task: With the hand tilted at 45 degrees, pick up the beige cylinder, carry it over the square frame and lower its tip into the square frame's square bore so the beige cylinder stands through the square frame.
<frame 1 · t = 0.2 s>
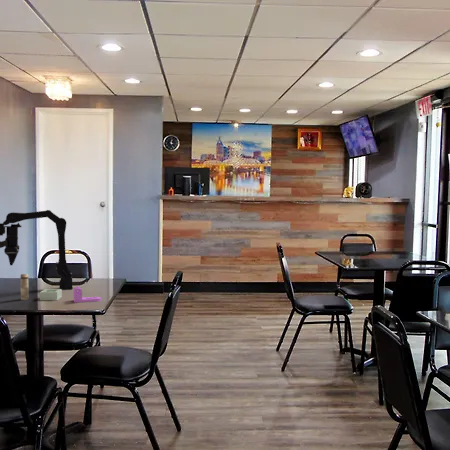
hand: (11, 264, 275), 15 cm above the table, tool pointing down, fingers open, 9 cm apart
square frame: (51, 298, 255), on the table
beige cylinder: (24, 299, 252), on the table
bracket: (87, 301, 251), on the table
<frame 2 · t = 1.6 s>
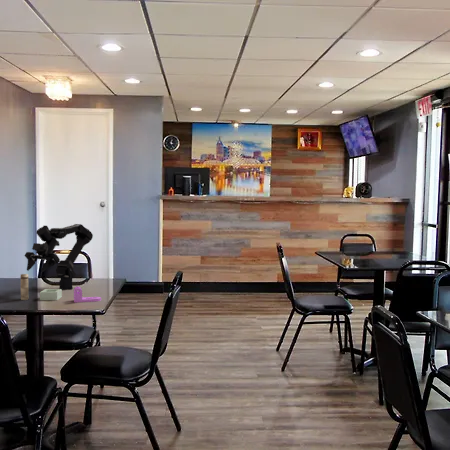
hand: (34, 270, 260), 13 cm above the table, tool tilted 45°, fingers open, 9 cm apart
nothing on the table moved.
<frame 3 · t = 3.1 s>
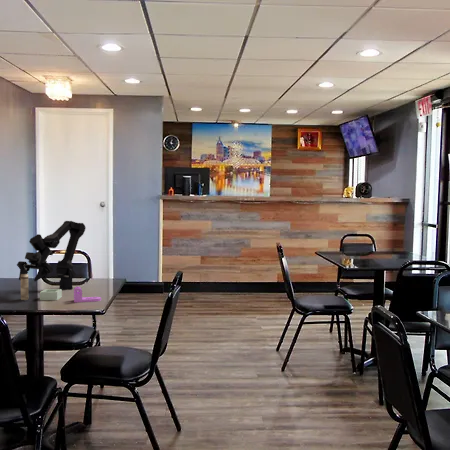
hand: (27, 280, 254), 9 cm above the table, tool tilted 45°, fingers open, 9 cm apart
nothing on the table moved.
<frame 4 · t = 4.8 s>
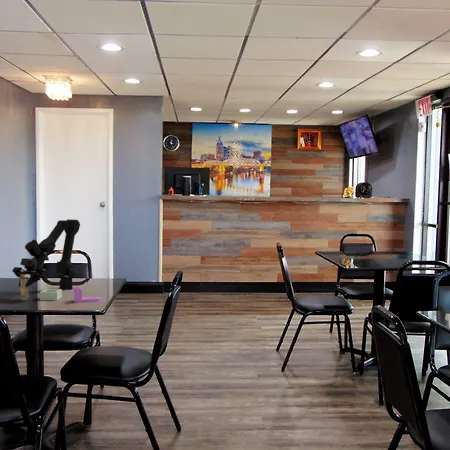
hand: (22, 286, 251), 7 cm above the table, tool tilted 45°, fingers closed on beige cylinder, 4 cm apart
beige cylinder: (24, 299, 252), on the table, touching gripper
everything else where it was.
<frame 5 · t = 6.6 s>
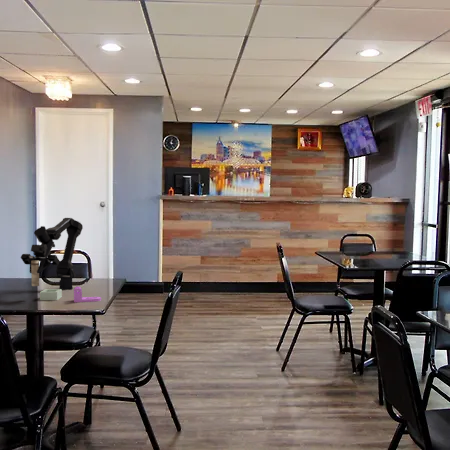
hand: (33, 272, 251), 13 cm above the table, tool tilted 45°, fingers closed on beige cylinder, 4 cm apart
beige cylinder: (35, 285, 253), point 7 cm above the table, touching gripper
everything else where it was.
when the fingers open (9 cm above the table, at t = 8.9 s): beige cylinder drops 2 cm, resting in square frame.
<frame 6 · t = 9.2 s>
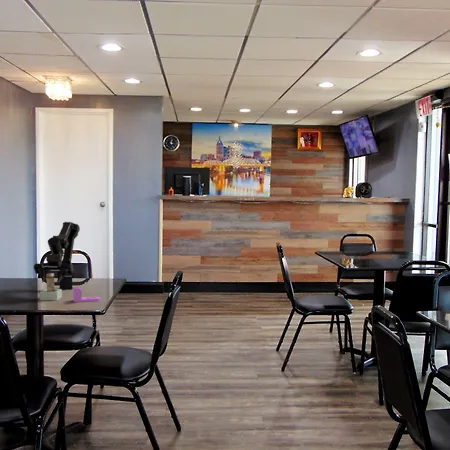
hand: (50, 282, 253), 9 cm above the table, tool tilted 45°, fingers open, 7 cm apart
beige cylinder: (51, 298, 255), resting in square frame
everything else where it was.
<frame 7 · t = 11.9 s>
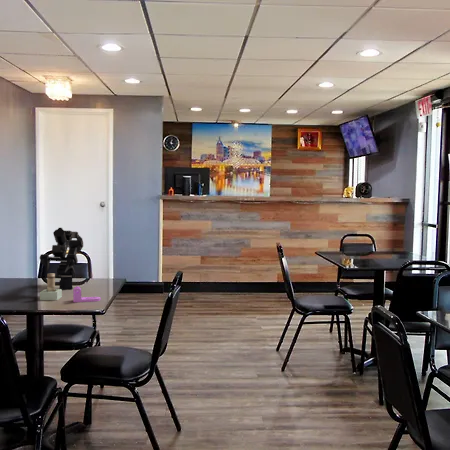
hand: (55, 272, 263), 12 cm above the table, tool tilted 45°, fingers open, 9 cm apart
nothing on the table moved.
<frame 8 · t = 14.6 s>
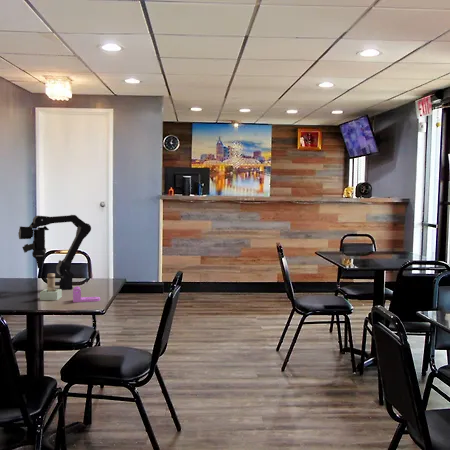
hand: (39, 267, 276), 13 cm above the table, tool pointing down, fingers open, 9 cm apart
nothing on the table moved.
at the end: beige cylinder 0.1 cm from the square frame (horizontally); beige cylinder resting in square frame; the gripper is holding nothing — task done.
